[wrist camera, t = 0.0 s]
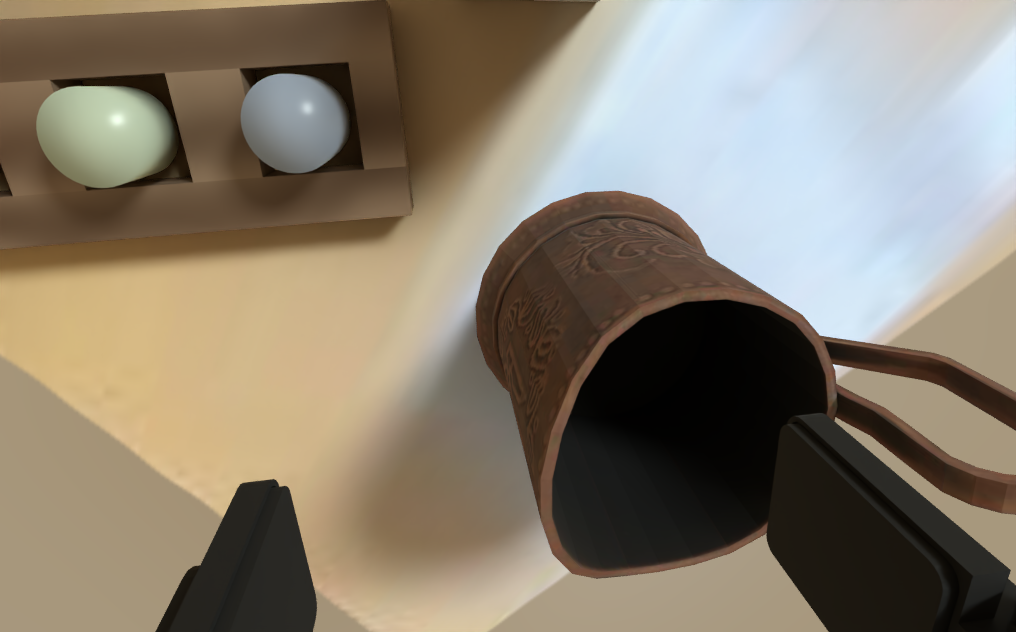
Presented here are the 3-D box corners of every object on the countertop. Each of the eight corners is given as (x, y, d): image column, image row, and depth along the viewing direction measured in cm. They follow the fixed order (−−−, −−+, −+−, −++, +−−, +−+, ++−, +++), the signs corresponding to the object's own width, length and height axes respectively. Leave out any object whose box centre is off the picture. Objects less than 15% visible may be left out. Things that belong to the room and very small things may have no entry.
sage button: (73, 89, 33) (20, 89, 29) (165, 83, 33) (127, 83, 29) (101, 178, 35) (56, 191, 31) (188, 172, 35) (155, 184, 31)
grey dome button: (255, 77, 34) (230, 76, 30) (343, 72, 34) (330, 70, 30) (273, 166, 36) (252, 176, 31) (356, 159, 36) (346, 169, 32)
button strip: (-176, 36, 32) (-234, 31, 30) (389, 6, 35) (385, -1, 32) (-81, 246, 37) (-123, 259, 34) (413, 205, 39) (411, 215, 37)
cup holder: (454, 215, 40) (481, 393, 17) (788, 156, 41) (1235, 247, 18) (496, 439, 47) (556, 779, 24) (781, 382, 48) (1097, 654, 25)
